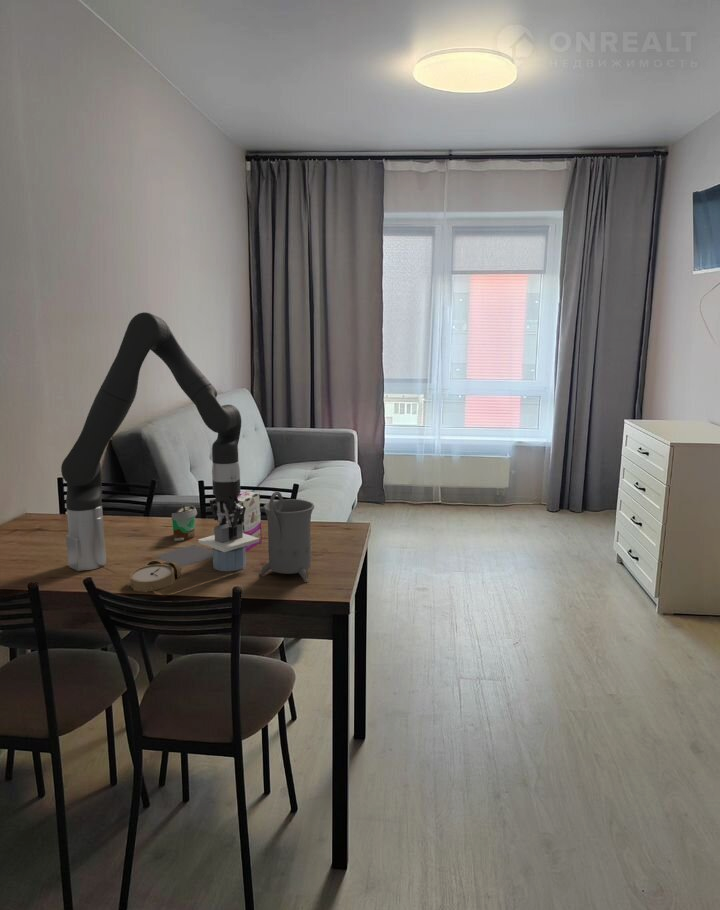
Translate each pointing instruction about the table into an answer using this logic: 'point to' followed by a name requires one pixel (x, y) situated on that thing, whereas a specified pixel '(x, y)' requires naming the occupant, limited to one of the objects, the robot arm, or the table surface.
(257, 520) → the candy bar box
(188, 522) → the food container
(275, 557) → the grey footed pot
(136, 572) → the alarm clock
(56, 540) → the table surface
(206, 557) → the mat
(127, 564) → the table surface
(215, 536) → the lid
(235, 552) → the bowl
